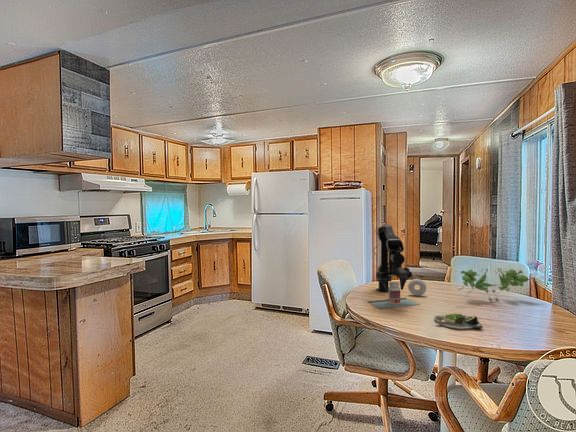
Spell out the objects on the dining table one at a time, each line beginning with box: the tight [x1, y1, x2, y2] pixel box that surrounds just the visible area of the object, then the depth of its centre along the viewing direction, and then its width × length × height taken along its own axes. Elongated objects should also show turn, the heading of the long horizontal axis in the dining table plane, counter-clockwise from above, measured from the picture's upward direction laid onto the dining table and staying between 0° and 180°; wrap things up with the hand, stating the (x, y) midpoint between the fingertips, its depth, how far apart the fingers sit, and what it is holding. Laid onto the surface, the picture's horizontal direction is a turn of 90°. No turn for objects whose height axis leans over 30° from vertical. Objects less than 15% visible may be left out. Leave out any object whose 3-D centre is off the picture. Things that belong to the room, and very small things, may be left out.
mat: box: [369, 298, 420, 310], centre depth 176 cm, size 10×24×1 cm, turn 105°
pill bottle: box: [387, 281, 401, 305], centre depth 176 cm, size 6×6×11 cm
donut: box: [407, 278, 427, 297], centre depth 192 cm, size 10×4×10 cm, turn 70°
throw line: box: [367, 297, 408, 304], centre depth 183 cm, size 2×24×1 cm, turn 105°
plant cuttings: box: [457, 268, 530, 303], centre depth 182 cm, size 35×17×22 cm
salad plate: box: [433, 313, 484, 331], centre depth 145 cm, size 19×18×5 cm
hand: (394, 290), depth 176 cm, fingers open, 9 cm apart
